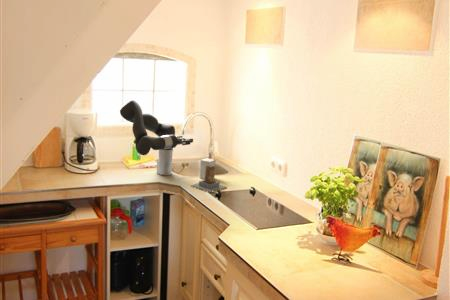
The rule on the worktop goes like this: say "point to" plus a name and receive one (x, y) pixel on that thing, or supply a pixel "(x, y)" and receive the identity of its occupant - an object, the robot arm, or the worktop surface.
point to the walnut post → (209, 174)
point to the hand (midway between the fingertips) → (187, 139)
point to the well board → (209, 186)
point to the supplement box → (203, 166)
